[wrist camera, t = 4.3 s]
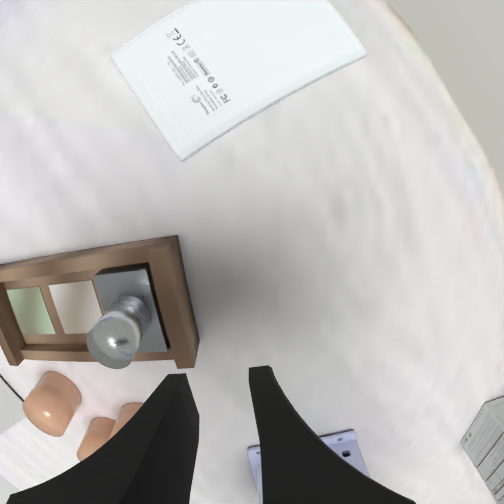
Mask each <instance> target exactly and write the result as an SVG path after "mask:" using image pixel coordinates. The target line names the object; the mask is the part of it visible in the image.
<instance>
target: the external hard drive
mask: <svg viewBox="0 0 504 504" xmlns="http://www.w3.org/2000/svg"><path fill="white" fill-rule="evenodd" d="M366 55H367V52H366V50H365V48H364V46H363V45H362V43H361V42H360V40H359V39H358V38H357V36H356V35H355V34H354V32H353V31H352V30H351V28H350V27H349V26H348V24H347V23H346V22H345V20H344V19H343V18H342V17H341V15H340V14H339V13H338V12H337V10H336V9H335V8H334V7H333V5H332V4H331V3H330V2H329V1H328V0H193V1H191V2H189V3H187V4H185V5H184V6H182V7H180V8H178V9H177V10H175V11H173V12H172V13H170V14H168V15H167V16H165V17H163V18H162V19H160V20H159V21H157V22H156V23H154V24H152V25H151V26H149V27H148V28H146V29H145V30H143V31H142V32H140V33H139V34H138V35H136V36H135V37H133V38H132V39H131V40H129V41H128V42H127V43H125V44H124V45H122V46H121V47H119V48H118V49H117V50H116V51H114V52H113V53H112V54H110V55H109V56H110V58H111V60H112V61H113V63H114V64H115V66H116V67H117V69H118V70H119V72H120V73H121V75H122V76H123V77H124V79H125V80H126V82H127V83H128V85H129V86H130V88H131V89H132V91H133V92H134V94H135V95H136V97H137V98H138V100H139V101H140V103H141V104H142V106H143V107H144V109H145V110H146V112H147V113H148V115H149V116H150V118H151V119H152V121H153V122H154V124H155V125H156V127H157V128H158V130H159V131H160V133H161V134H162V136H163V137H164V139H165V140H166V142H167V143H168V144H169V146H170V147H171V149H172V151H173V152H174V153H175V155H176V156H177V157H178V159H179V160H180V161H184V160H186V159H187V158H189V157H190V156H192V155H193V154H195V153H196V152H197V151H199V150H200V149H202V148H203V147H205V146H207V145H208V144H210V143H211V142H213V141H214V140H216V139H217V138H219V137H220V136H222V135H223V134H225V133H226V132H228V131H230V130H231V129H233V128H234V127H236V126H238V125H239V124H241V123H242V122H244V121H246V120H247V119H249V118H251V117H252V116H254V115H256V114H257V113H259V112H261V111H262V110H264V109H266V108H268V107H269V106H271V105H273V104H274V103H276V102H278V101H280V100H281V99H283V98H285V97H287V96H289V95H290V94H292V93H294V92H296V91H298V90H300V89H301V88H303V87H305V86H307V85H309V84H311V83H313V82H315V81H317V80H319V79H321V78H323V77H324V76H326V75H328V74H330V73H332V72H334V71H337V70H339V69H341V68H343V67H345V66H347V65H349V64H351V63H353V62H355V61H357V60H360V59H362V58H363V57H365V56H366Z"/></svg>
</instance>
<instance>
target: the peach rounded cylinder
mask: <svg viewBox="0 0 504 504" xmlns="http://www.w3.org/2000/svg"><path fill="white" fill-rule="evenodd" d="M115 423H116V421H114V420H112V419H109V418H105V417H97V418H94V419H93V420H92V421H91V423H90V425H89V428H88V430H87V432H86V434H85V436H84V438H83V440H82V442H81V445H80V447H79V449H78V451H77V457H78V459H79V460H80V462H81V461H82V460H84V459H85V458H87V457H88V456H90V455H91V454H92V453H94V452H95V451H96V450H98V449H99V448H100V447H101V446H102V445H104V444H105V443H106V442H107V441H108V440H109V438H110V435H111V433H112V430H113V428H114V425H115Z"/></svg>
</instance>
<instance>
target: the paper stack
mask: <svg viewBox="0 0 504 504" xmlns="http://www.w3.org/2000/svg"><path fill="white" fill-rule="evenodd" d="M22 404H23V402H22V401H21V400H20V398H19V397H18V396H17V395H16V394H15V393H14V392H13V391H12V390H11V389H10V388H9V387H8V386H7V384H6V383H5V382H4V381H3V380H2V379H1V378H0V434H1V433H2V432H4V431H5V430H7V429H8V428H10V427H11V426H13V425H14V424H16V423H17V422H19V421H20V420H22V419H23V418H25V417H26V415H25V413H24V411H23V408H22Z"/></svg>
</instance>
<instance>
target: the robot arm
mask: <svg viewBox="0 0 504 504" xmlns="http://www.w3.org/2000/svg"><path fill="white" fill-rule="evenodd" d="M249 386H250V391H251V397H252V402H253V408H254V413H255V419H256V424H257V429H258V434H259V440H260V447H252V448H249V449H248V450H247V454H248V458H249V462H250V466H251V470H252V473H253V477H254V481H255V485H256V488H257V490H258V499H259V504H416V503H415V502H414V501H413V500H411V499H408V498H406V497H404V496H402V495H400V494H398V493H396V492H394V491H392V490H390V489H388V488H386V487H384V486H382V485H381V484H379V483H377V482H376V481H374V480H372V479H371V478H370V476H369V473H368V470H367V468H366V465H365V462H364V460H363V457H362V455H361V452H360V449H359V447H358V444H357V442H356V433H355V431H348V432H344V433H339V434H335V435H330V436H325V437H320V438H319V437H318V436H317V435H316V434H315V433H314V432H313V431H312V429H311V428H310V427H309V426H308V425H307V424H306V423H305V421H304V420H303V419H302V418H301V417H300V415H299V414H298V413H297V411H296V410H295V409H294V407H293V406H292V404H291V403H290V402H289V400H288V399H287V397H286V396H285V394H284V393H283V391H282V389H281V387H280V386H279V384H278V382H277V380H276V378H275V376H274V373H273V370H272V368H271V367H270V366H268V365H267V366H260V367H251V368H249ZM198 442H199V413H198V410H197V407H196V404H195V401H194V398H193V395H192V392H191V389H190V386H189V383H188V379H187V376H186V373H183V374H168V375H167V376H166V377H165V379H164V380H163V381H162V382H161V383H160V385H159V386H158V387H157V388H156V389H155V391H154V392H153V393H152V394H151V396H150V397H149V398H148V399H147V400H146V402H145V403H144V404H143V405H142V406H141V407H140V409H139V410H138V411H137V412H136V413H135V414H134V415H133V417H132V418H131V419H130V420H129V421H128V422H127V423H126V424H125V425H124V426H123V427H122V428H121V429H120V430H119V431H118V432H117V433H116V434H115V435H114V436H113V437H112V438H111V439H109V440H108V441H107V442H106V443H105V444H104V445H102V446H101V447H100V448H99V449H98V450H96V451H95V452H94V453H92V454H91V455H90V456H88V457H87V458H85V459H84V460H82V461H81V462H79V463H78V464H76V465H75V466H73V467H72V468H70V469H69V470H67V471H65V472H63V473H62V474H60V475H58V476H56V477H54V478H52V479H50V480H48V481H46V482H44V483H42V484H39V485H37V486H34V487H32V488H29V489H26V490H23V491H20V492H18V493H14V494H11V495H10V497H9V499H8V501H7V503H6V504H189V500H190V491H191V485H192V479H193V473H194V467H195V461H196V455H197V448H198Z"/></svg>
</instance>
